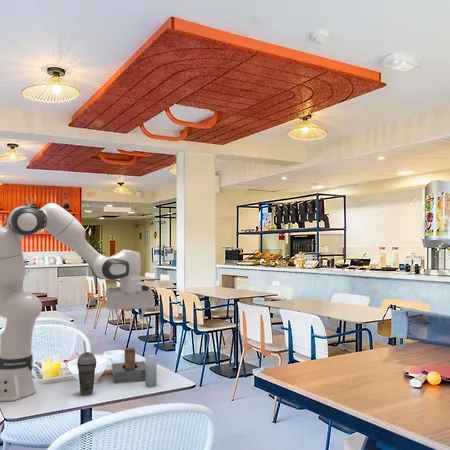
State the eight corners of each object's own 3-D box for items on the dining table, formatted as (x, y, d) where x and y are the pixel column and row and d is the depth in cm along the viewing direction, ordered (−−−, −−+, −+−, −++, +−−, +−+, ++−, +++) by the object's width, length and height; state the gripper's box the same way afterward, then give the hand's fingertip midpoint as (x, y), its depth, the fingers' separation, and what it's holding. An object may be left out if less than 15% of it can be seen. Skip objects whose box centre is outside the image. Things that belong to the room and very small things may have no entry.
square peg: (124, 376, 206) (124, 348, 207) (134, 375, 207) (134, 347, 208) (125, 379, 202) (125, 350, 203) (134, 378, 204) (135, 349, 204)
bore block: (114, 383, 196) (114, 372, 196) (112, 374, 210) (112, 363, 210) (148, 380, 200) (148, 369, 201) (144, 371, 214) (144, 361, 214)
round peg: (146, 387, 191) (146, 357, 191) (144, 384, 195) (144, 354, 195) (157, 386, 192) (157, 356, 193) (155, 383, 196) (155, 353, 197)
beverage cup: (90, 397, 179) (91, 343, 180) (72, 396, 181) (73, 342, 181) (99, 391, 186) (100, 339, 187) (82, 389, 188) (82, 338, 188)
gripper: (105, 288, 200) (105, 321, 200) (155, 287, 206) (154, 319, 206) (105, 286, 206) (104, 319, 206) (152, 285, 212) (152, 317, 212)
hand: (130, 319), depth 206 cm, fingers open, 8 cm apart
